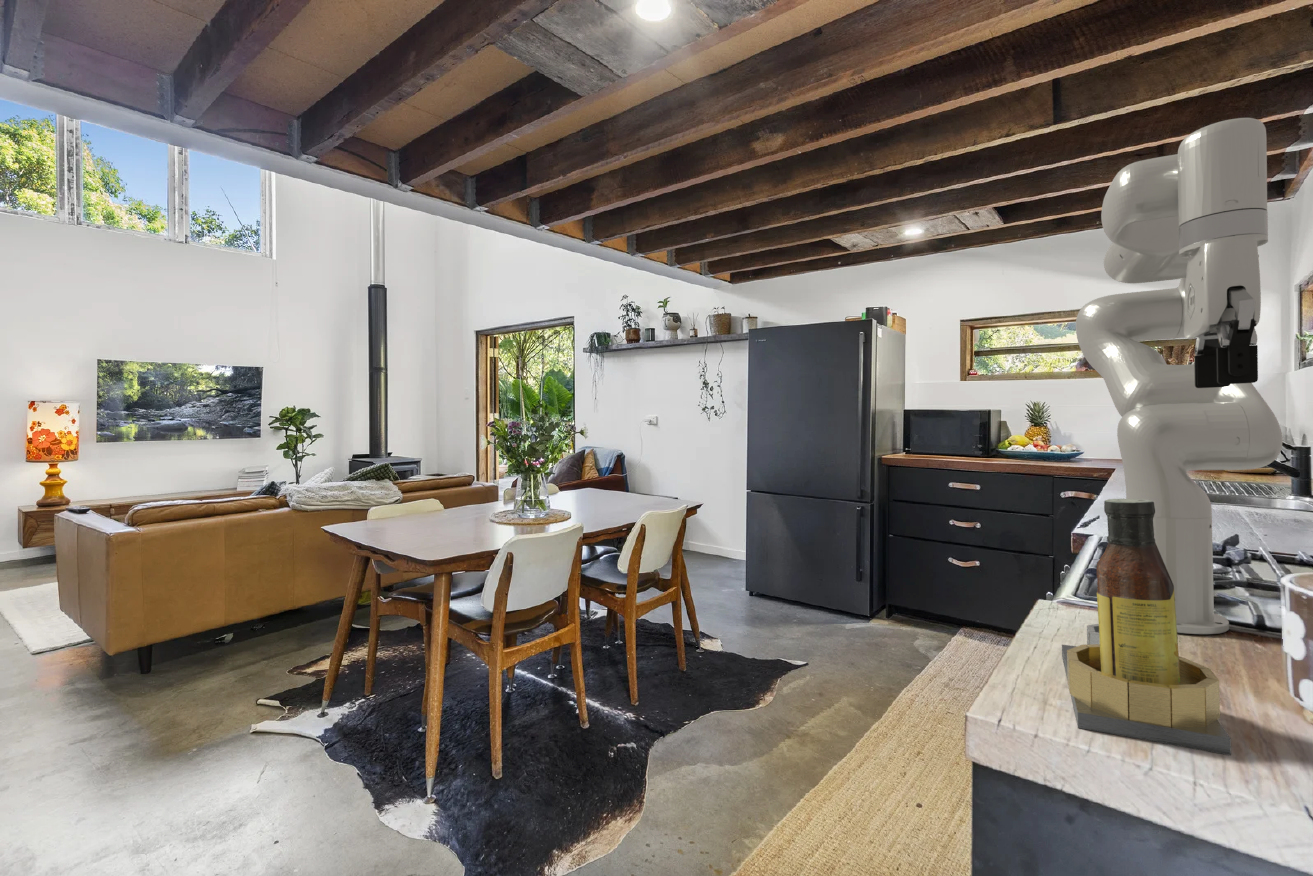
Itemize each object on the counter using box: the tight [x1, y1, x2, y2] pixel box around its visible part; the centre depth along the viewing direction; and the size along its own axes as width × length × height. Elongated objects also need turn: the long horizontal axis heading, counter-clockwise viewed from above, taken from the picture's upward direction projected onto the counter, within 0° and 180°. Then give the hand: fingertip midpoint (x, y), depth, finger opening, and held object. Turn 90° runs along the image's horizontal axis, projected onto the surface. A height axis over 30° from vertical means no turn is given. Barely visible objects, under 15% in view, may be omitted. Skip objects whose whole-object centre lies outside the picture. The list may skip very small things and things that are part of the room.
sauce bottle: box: [1095, 498, 1180, 685], centre depth 62 cm, size 6×6×20 cm
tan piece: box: [1061, 623, 1232, 756], centre depth 65 cm, size 21×12×5 cm, turn 150°
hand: (1224, 385), depth 71 cm, fingers open, 9 cm apart
